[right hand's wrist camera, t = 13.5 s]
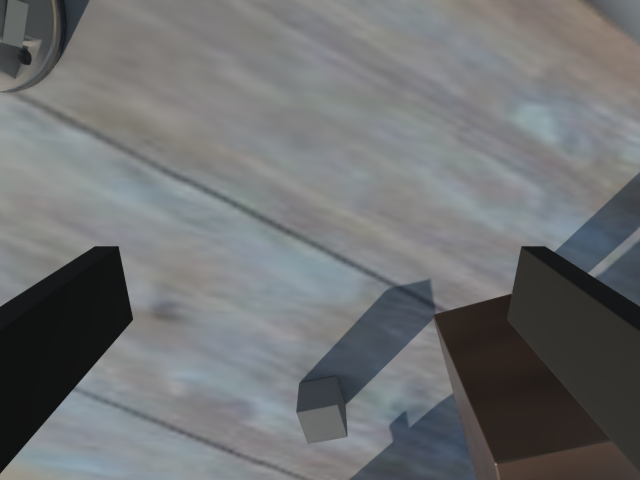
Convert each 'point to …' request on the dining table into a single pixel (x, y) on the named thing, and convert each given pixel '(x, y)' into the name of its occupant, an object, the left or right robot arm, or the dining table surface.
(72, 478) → the dining table surface
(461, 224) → the dining table surface
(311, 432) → the grey rubber block
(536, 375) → the walnut plank
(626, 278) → the dining table surface
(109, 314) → the right robot arm
